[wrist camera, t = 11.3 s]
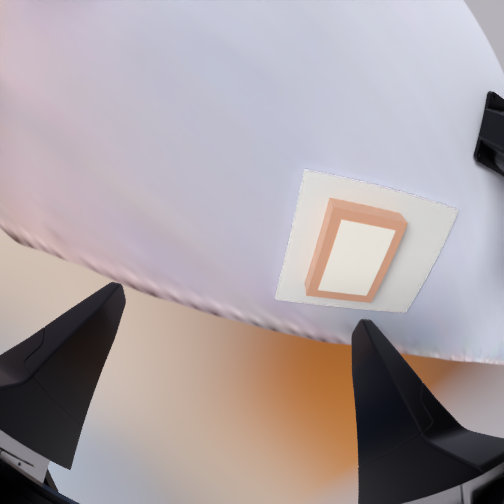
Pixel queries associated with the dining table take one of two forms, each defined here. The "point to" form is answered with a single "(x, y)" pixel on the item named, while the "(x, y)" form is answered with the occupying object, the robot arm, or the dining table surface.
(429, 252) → the mat
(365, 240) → the tile
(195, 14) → the dining table surface
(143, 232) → the dining table surface
